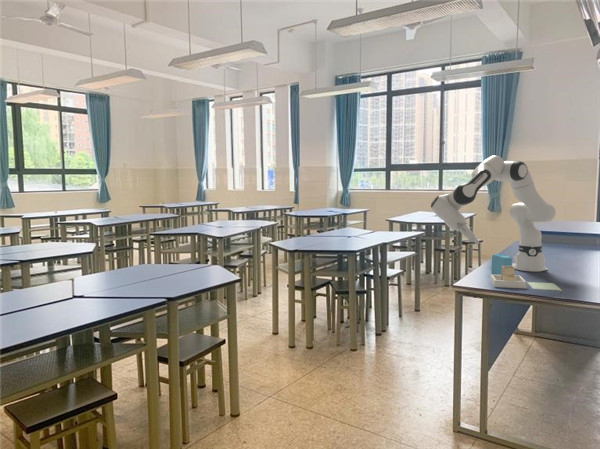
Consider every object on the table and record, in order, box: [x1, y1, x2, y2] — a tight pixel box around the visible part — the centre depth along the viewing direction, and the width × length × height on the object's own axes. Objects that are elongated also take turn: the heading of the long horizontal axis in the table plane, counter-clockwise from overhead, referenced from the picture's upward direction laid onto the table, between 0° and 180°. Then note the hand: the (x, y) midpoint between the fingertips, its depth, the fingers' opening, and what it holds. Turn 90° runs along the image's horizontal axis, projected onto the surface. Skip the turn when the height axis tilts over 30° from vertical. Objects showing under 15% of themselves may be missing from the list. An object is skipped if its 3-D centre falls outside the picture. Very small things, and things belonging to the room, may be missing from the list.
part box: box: [501, 265, 516, 281], centre depth 214 cm, size 5×5×9 cm
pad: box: [526, 281, 563, 293], centre depth 210 cm, size 14×12×1 cm
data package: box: [491, 253, 513, 275], centre depth 232 cm, size 12×4×12 cm, turn 5°
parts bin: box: [489, 273, 527, 289], centre depth 214 cm, size 14×14×4 cm
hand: (477, 242), depth 216 cm, fingers open, 8 cm apart
